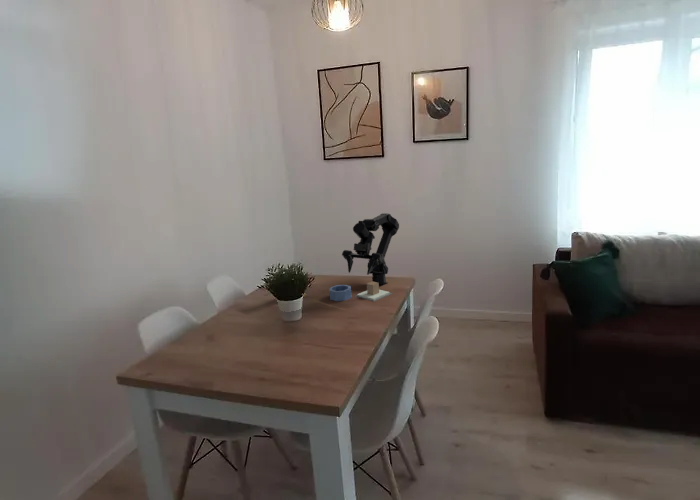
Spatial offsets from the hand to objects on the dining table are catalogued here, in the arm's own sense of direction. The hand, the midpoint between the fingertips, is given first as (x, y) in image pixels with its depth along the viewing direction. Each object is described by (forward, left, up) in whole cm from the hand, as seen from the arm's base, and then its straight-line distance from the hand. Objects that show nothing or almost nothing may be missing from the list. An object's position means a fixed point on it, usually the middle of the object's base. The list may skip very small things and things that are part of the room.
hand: (358, 273), depth 212 cm
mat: (-7, +2, -13) cm, 14 cm away
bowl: (+4, -9, -13) cm, 16 cm away
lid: (-7, +2, -12) cm, 14 cm away
